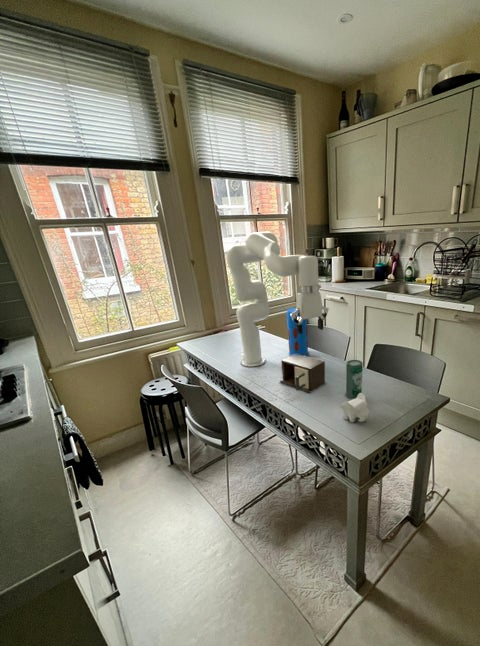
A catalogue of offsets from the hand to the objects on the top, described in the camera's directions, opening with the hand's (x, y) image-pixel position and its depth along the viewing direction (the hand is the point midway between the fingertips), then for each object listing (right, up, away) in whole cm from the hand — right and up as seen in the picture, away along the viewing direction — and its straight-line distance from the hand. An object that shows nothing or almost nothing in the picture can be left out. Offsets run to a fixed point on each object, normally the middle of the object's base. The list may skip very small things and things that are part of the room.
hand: (310, 331), depth 131 cm
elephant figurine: (+16, -34, -13) cm, 40 cm away
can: (+18, -27, +3) cm, 33 cm away
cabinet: (-3, -22, +16) cm, 27 cm away
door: (-5, -25, +8) cm, 26 cm away
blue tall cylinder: (-5, -7, +50) cm, 51 cm away
